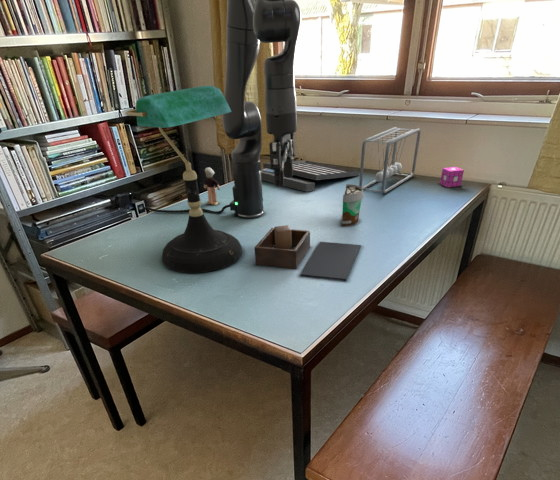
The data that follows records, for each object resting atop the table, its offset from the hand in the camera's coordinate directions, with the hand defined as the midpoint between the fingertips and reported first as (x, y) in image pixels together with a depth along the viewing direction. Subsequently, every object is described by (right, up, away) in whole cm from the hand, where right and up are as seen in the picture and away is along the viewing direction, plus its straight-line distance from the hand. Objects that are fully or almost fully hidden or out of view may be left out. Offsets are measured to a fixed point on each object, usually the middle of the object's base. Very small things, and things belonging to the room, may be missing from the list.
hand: (284, 181), depth 111 cm
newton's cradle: (+42, +25, +58) cm, 76 cm away
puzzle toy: (+66, +23, +53) cm, 87 cm away
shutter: (+10, +34, +70) cm, 78 cm away
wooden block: (0, -18, +8) cm, 19 cm away
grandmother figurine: (-26, +13, +47) cm, 55 cm away
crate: (0, -18, +8) cm, 19 cm away
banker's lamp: (-24, -17, +10) cm, 31 cm away
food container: (+23, -1, +27) cm, 35 cm away
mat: (+13, -20, +4) cm, 24 cm away
